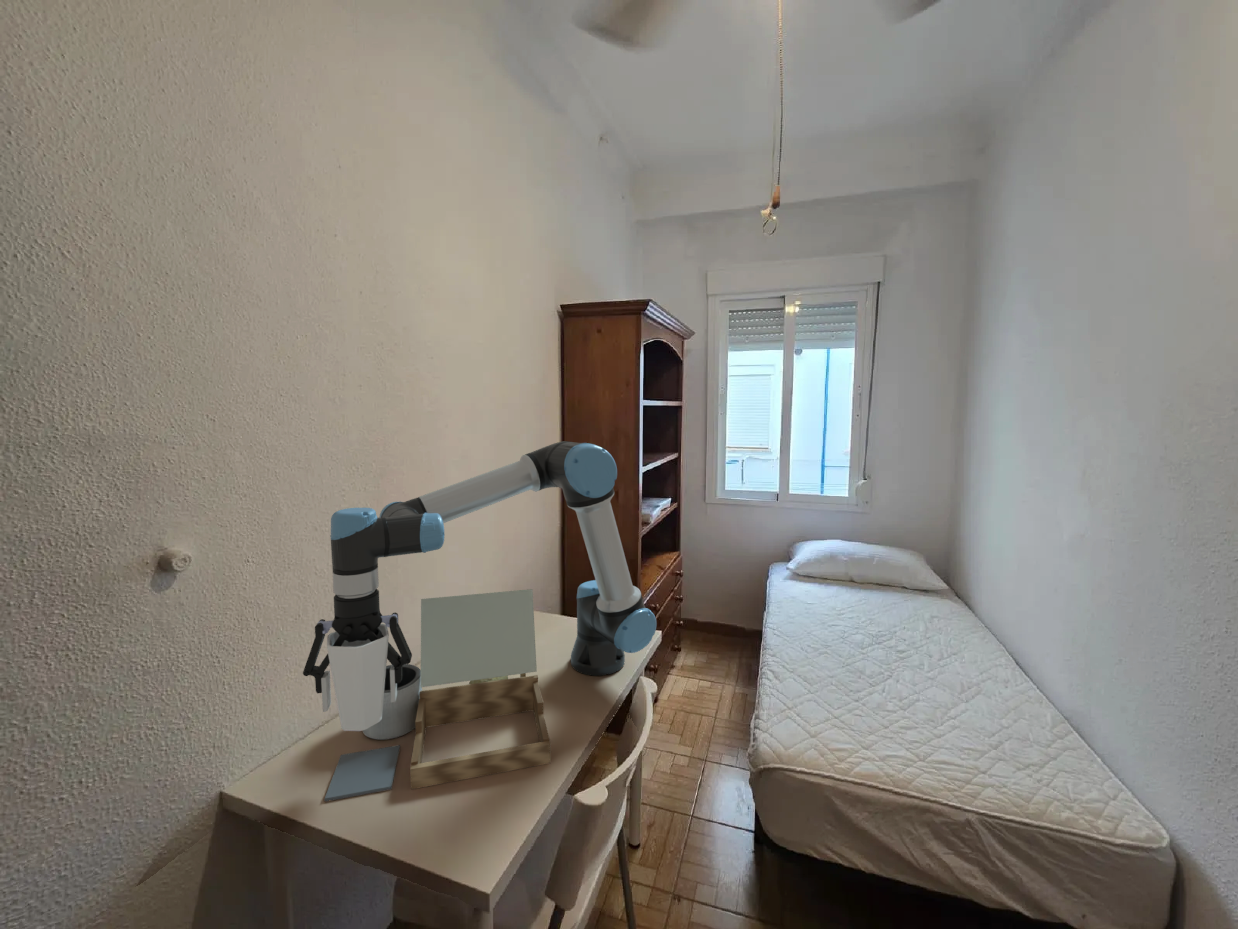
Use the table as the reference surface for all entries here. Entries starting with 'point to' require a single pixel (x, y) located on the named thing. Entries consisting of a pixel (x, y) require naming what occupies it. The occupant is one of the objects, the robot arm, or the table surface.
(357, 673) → the cup
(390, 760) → the mat
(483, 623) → the lid
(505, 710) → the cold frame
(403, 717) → the planter
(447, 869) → the table surface
